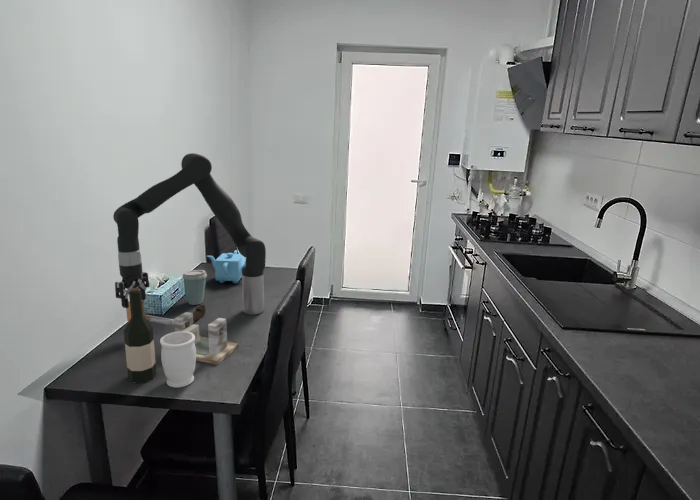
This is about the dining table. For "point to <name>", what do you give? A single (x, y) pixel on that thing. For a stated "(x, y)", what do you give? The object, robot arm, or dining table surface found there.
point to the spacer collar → (194, 332)
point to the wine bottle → (139, 342)
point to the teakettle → (228, 267)
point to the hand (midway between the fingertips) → (134, 303)
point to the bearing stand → (209, 339)
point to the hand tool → (199, 312)
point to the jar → (178, 358)
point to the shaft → (151, 317)
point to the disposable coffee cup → (195, 286)
